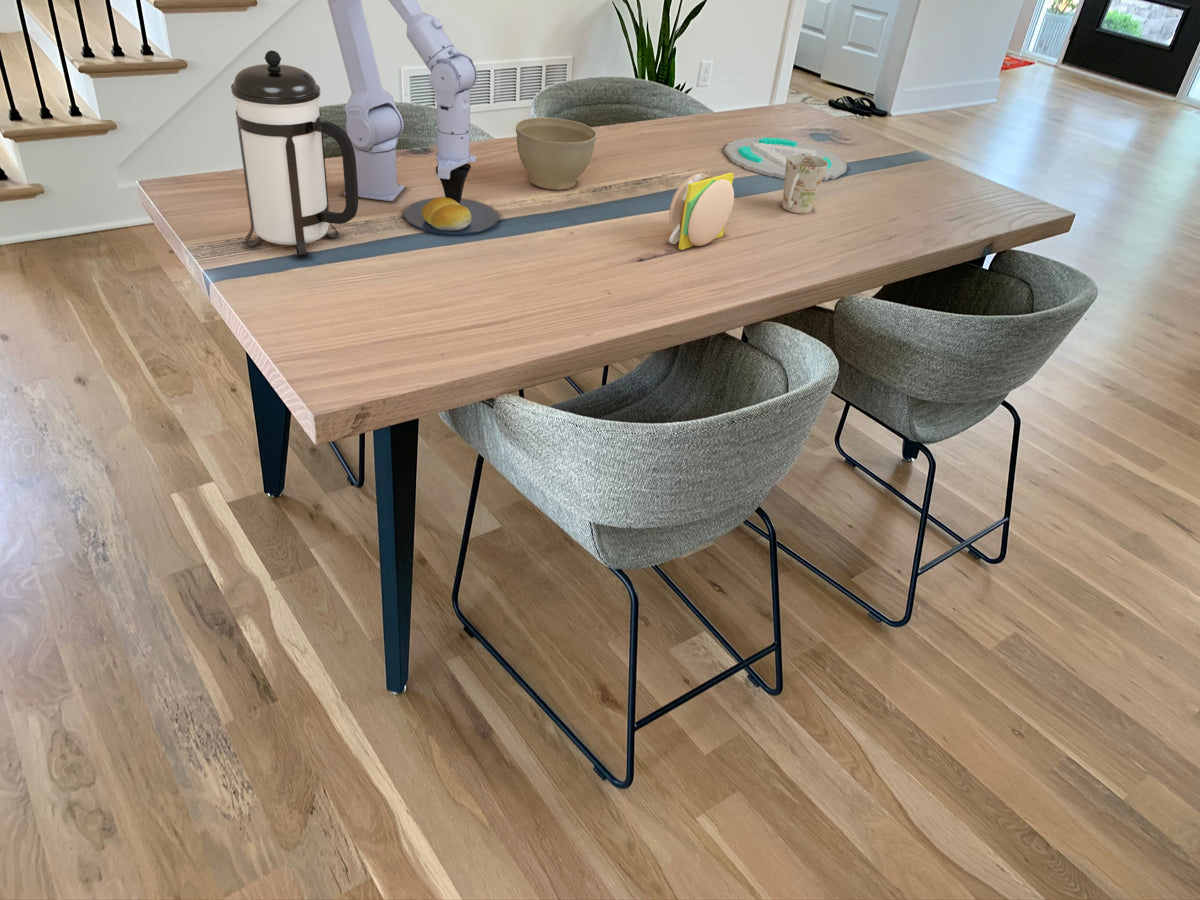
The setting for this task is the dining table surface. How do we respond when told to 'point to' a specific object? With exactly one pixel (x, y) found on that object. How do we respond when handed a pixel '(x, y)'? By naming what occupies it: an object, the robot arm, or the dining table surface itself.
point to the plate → (480, 222)
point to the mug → (802, 181)
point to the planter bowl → (554, 150)
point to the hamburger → (701, 209)
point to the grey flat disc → (778, 155)
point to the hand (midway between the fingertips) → (453, 204)
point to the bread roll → (446, 214)
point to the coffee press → (288, 155)
